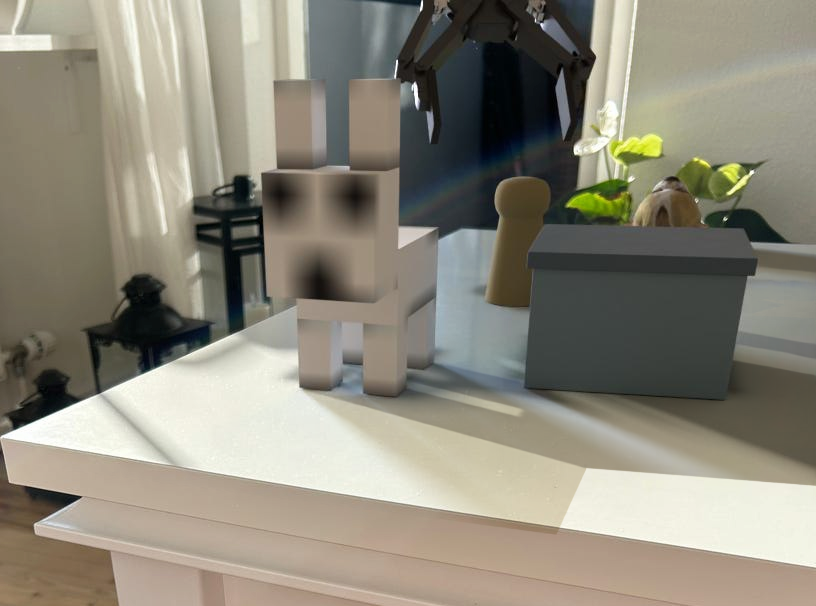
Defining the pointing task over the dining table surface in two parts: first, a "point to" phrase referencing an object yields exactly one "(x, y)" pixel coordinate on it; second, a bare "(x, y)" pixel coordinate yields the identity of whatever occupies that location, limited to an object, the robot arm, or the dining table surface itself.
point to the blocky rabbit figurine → (348, 240)
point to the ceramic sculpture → (668, 207)
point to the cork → (516, 239)
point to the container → (636, 309)
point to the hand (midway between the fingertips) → (503, 133)
